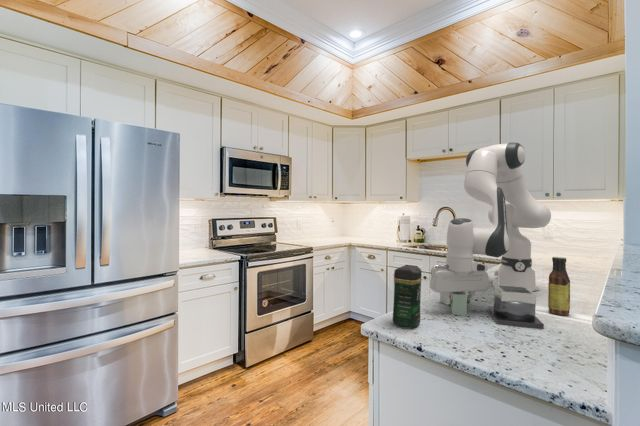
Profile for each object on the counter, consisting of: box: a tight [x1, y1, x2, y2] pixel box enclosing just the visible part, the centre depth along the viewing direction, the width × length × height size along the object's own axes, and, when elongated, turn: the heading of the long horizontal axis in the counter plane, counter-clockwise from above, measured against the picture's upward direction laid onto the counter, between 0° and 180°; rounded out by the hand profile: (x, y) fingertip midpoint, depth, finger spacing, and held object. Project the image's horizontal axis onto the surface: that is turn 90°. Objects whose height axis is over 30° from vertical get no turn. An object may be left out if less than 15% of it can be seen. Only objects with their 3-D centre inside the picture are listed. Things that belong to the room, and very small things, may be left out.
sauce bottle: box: [547, 256, 571, 316], centre depth 115 cm, size 6×6×20 cm
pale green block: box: [450, 292, 468, 317], centre depth 115 cm, size 6×4×8 cm
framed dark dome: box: [487, 285, 545, 330], centre depth 109 cm, size 14×13×10 cm
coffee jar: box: [392, 264, 422, 329], centre depth 103 cm, size 10×8×19 cm
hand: (458, 303), depth 115 cm, fingers closed on pale green block, 6 cm apart
